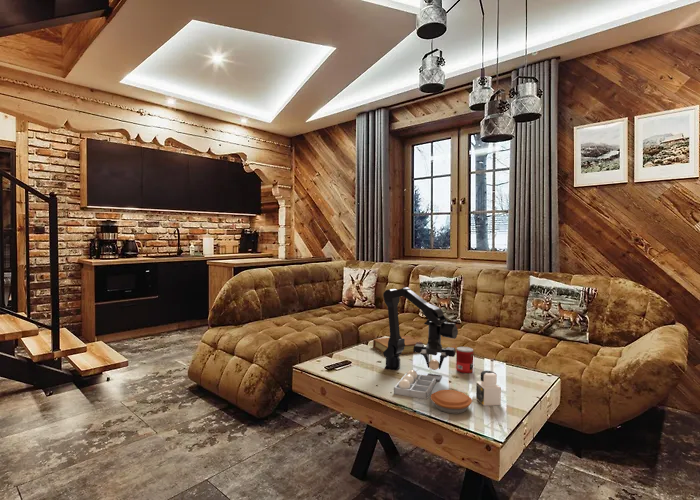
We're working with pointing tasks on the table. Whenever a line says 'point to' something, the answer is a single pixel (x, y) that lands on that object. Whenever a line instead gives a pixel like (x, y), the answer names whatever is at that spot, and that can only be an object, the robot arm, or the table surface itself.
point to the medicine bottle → (488, 389)
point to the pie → (451, 401)
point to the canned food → (464, 359)
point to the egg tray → (417, 387)
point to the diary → (409, 342)
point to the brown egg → (434, 364)
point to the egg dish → (438, 377)
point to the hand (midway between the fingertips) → (434, 368)
